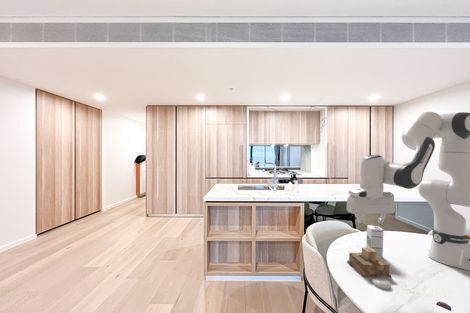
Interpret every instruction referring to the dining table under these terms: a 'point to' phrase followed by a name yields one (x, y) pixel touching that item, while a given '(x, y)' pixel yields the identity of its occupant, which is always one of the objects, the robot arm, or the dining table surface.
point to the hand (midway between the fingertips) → (370, 222)
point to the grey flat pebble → (381, 283)
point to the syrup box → (375, 239)
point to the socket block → (369, 266)
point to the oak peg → (368, 254)
